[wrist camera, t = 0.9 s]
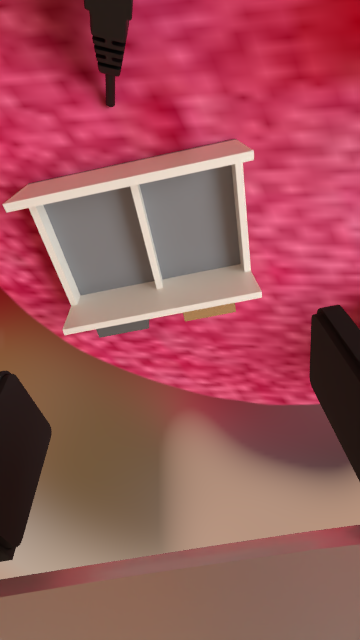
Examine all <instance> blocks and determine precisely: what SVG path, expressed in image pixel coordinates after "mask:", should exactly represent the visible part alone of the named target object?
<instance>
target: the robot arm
mask: <svg viewBox="0 0 360 640" xmlns="http://www.w3.org/2000/svg"><path fill="white" fill-rule="evenodd" d="M310 382H311V386H312V388H313V390H314V392H315V394H316V396H317V398H318V400H319V402H320V404H321V406H322V408H323V410H324V412H325V414H326V416H327V418H328V420H329V422H330V424H331V426H332V428H333V429H334V432H335V433H336V436H337V438H338V439H339V442H340V443H341V445H342V447H343V449H344V451H345V453H346V455H347V457H348V459H349V461H350V463H351V465H352V467H353V469H354V471H355V473H356V475H357V477H358V479H359V481H360V329H359V328H358V327H357V326H356V324H355V323H354V322H353V321H352V319H351V318H350V317H349V316H348V314H347V313H346V312H345V311H344V309H343V308H342V307H341V306H340V305H334V306H329V307H324V308H320V309H318V311H317V314H314V315H312V323H311V352H310ZM50 438H51V427H50V424H49V423H48V421H47V420H46V419H45V417H44V416H43V414H42V413H41V411H40V410H39V408H38V407H37V405H36V404H35V402H34V401H33V400H32V398H31V397H30V395H29V394H28V392H27V391H26V389H25V388H24V386H23V385H22V384H21V382H20V381H19V379H18V378H17V377H16V375H14V374H11V373H10V372H8V371H1V372H0V562H1V561H7V560H12V559H13V556H14V552H15V549H16V547H18V546H19V545H20V543H21V541H22V538H23V535H24V531H25V528H26V524H27V520H28V517H29V513H30V510H31V506H32V502H33V499H34V495H35V492H36V488H37V485H38V481H39V477H40V474H41V470H42V467H43V463H44V460H45V456H46V452H47V449H48V445H49V442H50ZM0 640H360V525H355V526H347V527H339V528H332V529H324V530H317V531H309V532H302V533H295V534H289V535H282V536H276V537H269V538H262V539H256V540H249V541H243V542H236V543H229V544H223V545H217V546H209V547H204V548H197V549H190V550H183V551H178V552H171V553H165V554H159V555H152V556H146V557H139V558H133V559H126V560H120V561H113V562H107V563H101V564H94V565H88V566H82V567H76V568H70V569H63V570H57V571H51V572H45V573H39V574H32V575H27V576H20V577H14V578H8V579H1V580H0Z"/></svg>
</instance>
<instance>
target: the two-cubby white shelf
mask: <svg viewBox="0 0 360 640" xmlns="http://www.w3.org/2000/svg"><path fill="white" fill-rule="evenodd" d="M252 160H254V151H253V150H252V149H250V148H249V147H247V146H246V145H244V144H243V143H241V142H240V141H238V140H237V139H232V140H228V141H223V142H218V143H214V144H209V145H204V146H200V147H195V148H191V149H186V150H181V151H177V152H172V153H168V154H163V155H158V156H154V157H149V158H144V159H140V160H135V161H131V162H126V163H121V164H117V165H112V166H107V167H103V168H98V169H94V170H89V171H84V172H80V173H75V174H70V175H66V176H61V177H57V178H52V179H47V180H43V181H38V182H33V183H29V184H28V185H26V186H25V187H24V188H23V189H21V190H20V191H19V192H17V193H16V194H15V195H14V196H12V197H11V198H10V199H9V200H7V201H6V202H5V203H3V206H4V208H5V211H6V213H7V212H12V211H16V210H21V209H26V208H29V210H30V212H31V215H32V217H33V219H34V222H35V224H36V226H37V228H38V231H39V233H40V235H41V238H42V240H43V242H44V244H45V247H46V249H47V251H48V254H49V256H50V258H51V261H52V263H53V265H54V267H55V270H56V272H57V274H58V277H59V279H60V281H61V283H62V286H63V288H64V290H65V293H66V295H67V297H68V299H69V302H70V304H71V308H70V311H69V313H68V316H67V319H66V321H65V324H64V327H63V329H62V330H63V332H64V334H65V335H68V334H73V333H78V332H83V331H89V330H94V329H99V328H104V327H110V326H115V325H120V324H125V323H131V322H136V321H141V320H146V319H152V318H157V317H162V316H167V315H173V314H178V313H183V312H188V311H194V310H199V309H204V308H209V307H214V306H220V305H225V304H230V303H235V302H241V301H246V300H251V299H256V298H262V291H261V289H260V288H259V286H258V284H257V282H256V280H255V278H254V276H253V274H252V272H251V267H250V254H249V240H248V227H247V214H246V201H245V188H244V174H243V162H247V161H252Z"/></svg>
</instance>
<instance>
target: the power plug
mask: <svg viewBox="0 0 360 640" xmlns="http://www.w3.org/2000/svg"><path fill="white" fill-rule="evenodd" d="M84 7H85V9H87V10H89V13H90V27H91V34H92V35H93V37H92V39H93V43H94V44H95V45H94V49H95V52H96V58H97V61H98V68H99V71H100V72H101V73H104V74H105V77H106V105H107V106H109V107H113V106H114V105H115V76H119V75H120V72H121V66H122V61H123V55H124V49H125V44H126V38H127V32H128V26H129V20H131V19H132V7H133V0H84Z"/></svg>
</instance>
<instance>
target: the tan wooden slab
mask: <svg viewBox="0 0 360 640" xmlns="http://www.w3.org/2000/svg"><path fill="white" fill-rule="evenodd" d="M232 312H236V310H235V303H230V304H225V305H220V306H214V307H209V308H204V309H199V310H194V311H188V312H183V315H184V319H185V321H190V320H195V319H200V318H205V317H211V316H216V315H221V314H226V313H232Z"/></svg>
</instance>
